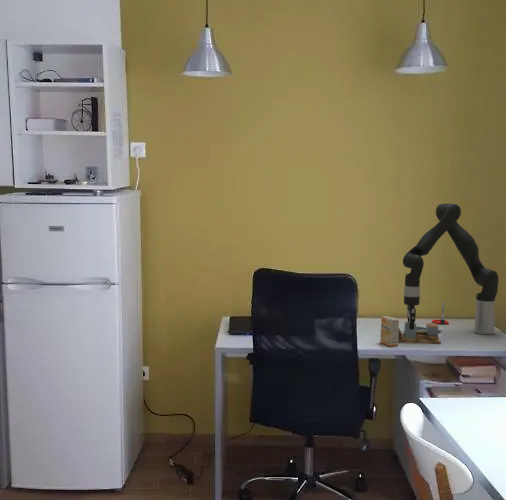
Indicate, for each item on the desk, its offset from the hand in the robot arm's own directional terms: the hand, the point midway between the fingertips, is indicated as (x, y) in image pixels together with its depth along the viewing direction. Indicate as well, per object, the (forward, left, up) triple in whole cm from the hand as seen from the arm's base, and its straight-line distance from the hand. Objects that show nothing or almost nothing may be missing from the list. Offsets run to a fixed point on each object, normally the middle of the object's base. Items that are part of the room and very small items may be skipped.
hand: (410, 327), depth 323 cm
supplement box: (+11, +11, -7) cm, 17 cm away
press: (-4, 0, -6) cm, 7 cm away
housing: (0, 0, -5) cm, 5 cm away
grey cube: (-10, 0, -5) cm, 11 cm away
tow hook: (-21, -41, -7) cm, 46 cm away
